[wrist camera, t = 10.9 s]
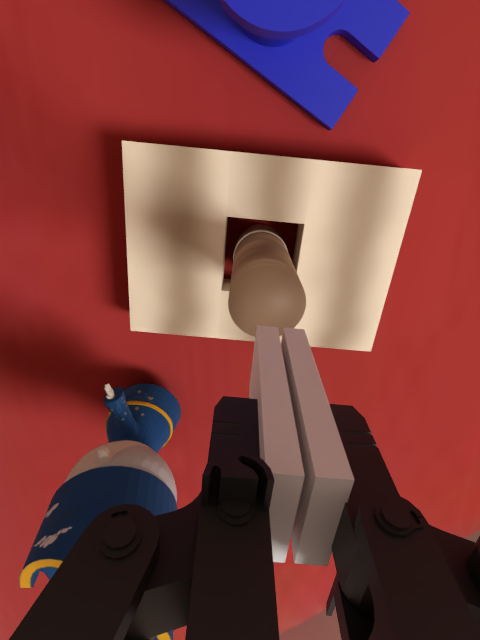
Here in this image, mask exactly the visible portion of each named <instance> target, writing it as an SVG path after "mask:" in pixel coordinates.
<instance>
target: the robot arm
mask: <svg viewBox="0 0 480 640" xmlns="http://www.w3.org/2000/svg"><path fill="white" fill-rule="evenodd" d="M290 538H291V541H292V549H293V558H294V563H296V564H310V565H323V566H327V565H328V562H329V559H330V556H331V553H332V552H333V557H334V561H335V566H336V570H337V574H336V577H335V580H334V583H333V586H332V589H331V592H330V594H329V597H328V600H327V607H326V614H327V615H329V616H331V615H332V613H333V610H334V608H335V606H336V611H337V617H338V622H339V628H340V633H341V638H342V640H480V536H479V538H478V540H477V541H476V543H475V542H472V541H469V540H467V539H464V538H461V537H458V536H456V535H453V534H450V533H447V532H445V531H442V530H440V529H438V528H435V527H433V526H431V525H429V524H428V522H427V521H426V519H425V518H424V516H423V515H422V513H421V512H420V511H419V510H418V509H417V508H416V507H415V506H414V505H413V504H411V503H410V502H409V501H408V500H406V499H404V498H402V497H400V495H399V493H398V491H397V489H396V487H395V485H394V482H393V480H392V478H391V476H390V473H389V471H388V469H387V467H386V465H385V462H384V460H383V458H382V456H381V453H380V451H379V449H378V448H377V447H376V442H375V440H374V438H373V436H372V435H371V431H370V429H369V427H368V425H367V422H366V420H365V418H364V417H363V416H362V415H361V414H360V413H359V412H358V411H357V410H356V409H355V408H354V407H353V406H348V405H336V404H329V402H328V399H327V396H326V393H325V390H324V387H323V384H322V381H321V378H320V375H319V372H318V369H317V366H316V363H315V360H314V357H313V354H312V351H311V348H310V345H309V342H308V339H307V336H306V333H305V330H304V329H295V328H283V334H282V341H281V342H280V337H279V331H278V327H272V326H260V325H257V329H256V337H255V345H254V353H253V361H252V370H251V378H250V386H249V398H238V397H226V396H223V397H222V399H221V400H220V401H219V402H218V404H217V405H216V406H215V409H214V416H213V424H212V432H211V440H210V448H209V456H208V463H207V465H206V468H205V470H204V473H203V478H202V491H201V492H200V494H199V496H198V497H197V498H196V499H195V500H194V501H193V502H191V503H190V504H188V505H187V506H185V507H183V508H181V509H178V510H175V511H172V512H168V513H164V514H160V515H156V516H153V514H152V513H151V512H150V511H149V510H147V509H145V508H144V507H142V506H140V505H133V504H122V505H118V506H114V507H111V508H109V509H107V510H105V511H104V512H102V513H100V514H99V515H97V516H96V517H95V518H94V519H93V520H92V522H91V523H90V524H89V525H88V526H87V527H86V528H85V530H84V531H83V533H82V534H81V536H80V537H79V538H78V540H77V541H76V543H75V544H74V546H73V547H72V549H71V550H70V552H69V553H68V555H67V556H66V557H65V559H64V560H63V562H62V563H61V565H60V566H59V568H58V569H57V571H56V572H55V573H54V575H53V576H52V578H51V579H50V581H49V582H48V584H47V585H46V587H45V588H44V589H43V591H42V592H41V594H40V595H39V597H38V598H37V600H36V601H35V603H34V604H33V605H32V607H31V608H30V610H29V611H28V613H27V614H26V616H25V617H24V619H23V620H22V621H21V623H20V624H19V626H18V627H17V629H16V630H15V632H14V633H13V635H12V636H11V637H10V639H9V640H154V639H155V636H158V635H160V634H163V633H166V632H169V631H172V630H175V629H178V628H180V627H183V626H186V625H187V630H186V638H185V640H279V630H278V617H277V604H276V592H275V579H274V566H273V562H283V563H285V559H286V555H287V551H288V546H289V542H290Z"/></svg>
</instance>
